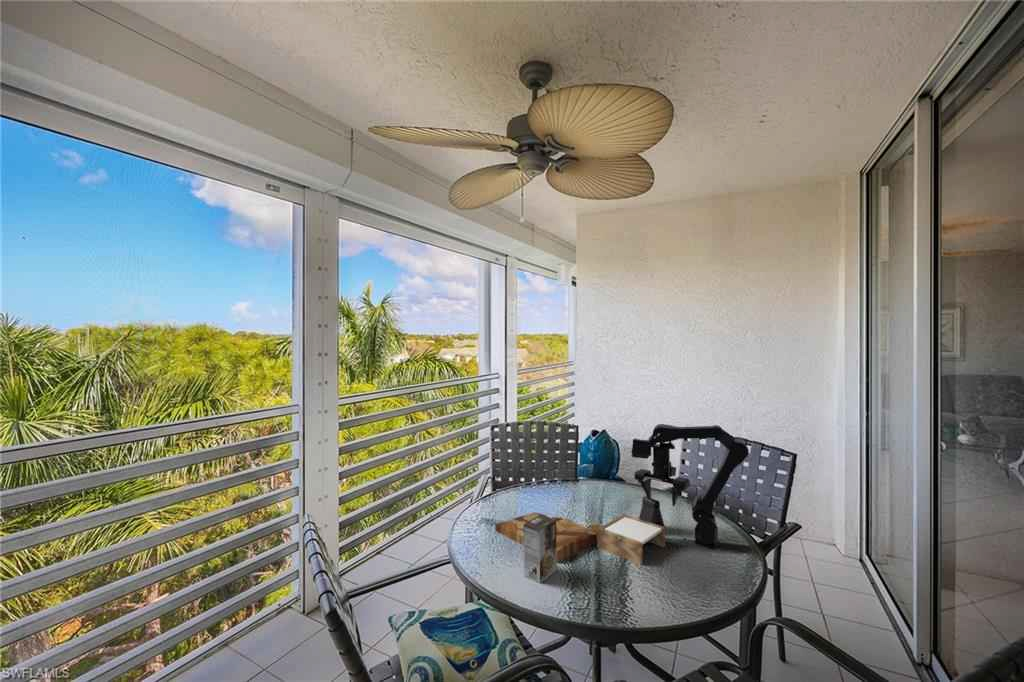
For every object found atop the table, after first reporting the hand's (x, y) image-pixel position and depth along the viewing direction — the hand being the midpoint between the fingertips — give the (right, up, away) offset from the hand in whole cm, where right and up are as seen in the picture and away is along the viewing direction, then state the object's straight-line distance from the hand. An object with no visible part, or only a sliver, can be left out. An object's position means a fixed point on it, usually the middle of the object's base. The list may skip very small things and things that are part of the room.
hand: (661, 502), depth 159 cm
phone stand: (-2, -13, +5) cm, 14 cm away
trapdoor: (-13, -9, -8) cm, 18 cm away
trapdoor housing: (-13, -12, -8) cm, 20 cm away
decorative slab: (-43, -13, 0) cm, 45 cm away
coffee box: (-46, -13, -25) cm, 54 cm away
